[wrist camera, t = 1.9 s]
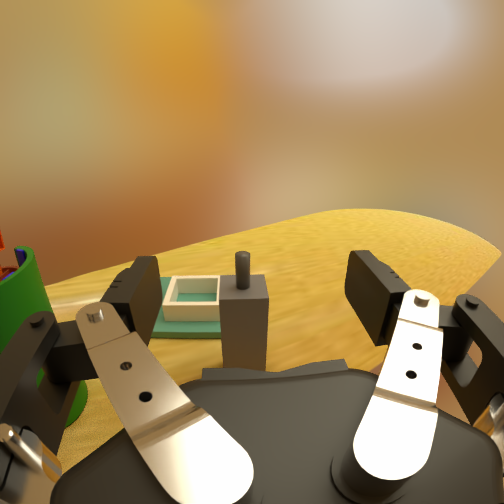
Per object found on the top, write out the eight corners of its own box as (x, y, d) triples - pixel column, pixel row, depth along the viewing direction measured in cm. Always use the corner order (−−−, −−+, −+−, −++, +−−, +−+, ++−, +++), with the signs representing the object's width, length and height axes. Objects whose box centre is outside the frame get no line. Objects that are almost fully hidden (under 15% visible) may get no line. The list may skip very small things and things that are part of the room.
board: (92, 333, 34) (85, 312, 32) (122, 282, 47) (118, 263, 45) (241, 337, 35) (241, 315, 34) (238, 281, 48) (238, 262, 46)
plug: (225, 387, 28) (216, 265, 22) (225, 357, 32) (219, 242, 26) (264, 386, 28) (270, 264, 22) (260, 356, 32) (264, 241, 26)
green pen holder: (48, 360, 28) (-6, 203, 20) (102, 379, 27) (47, 198, 19) (6, 415, 19) (-81, 244, 10) (61, 448, 18) (-50, 249, 10)
